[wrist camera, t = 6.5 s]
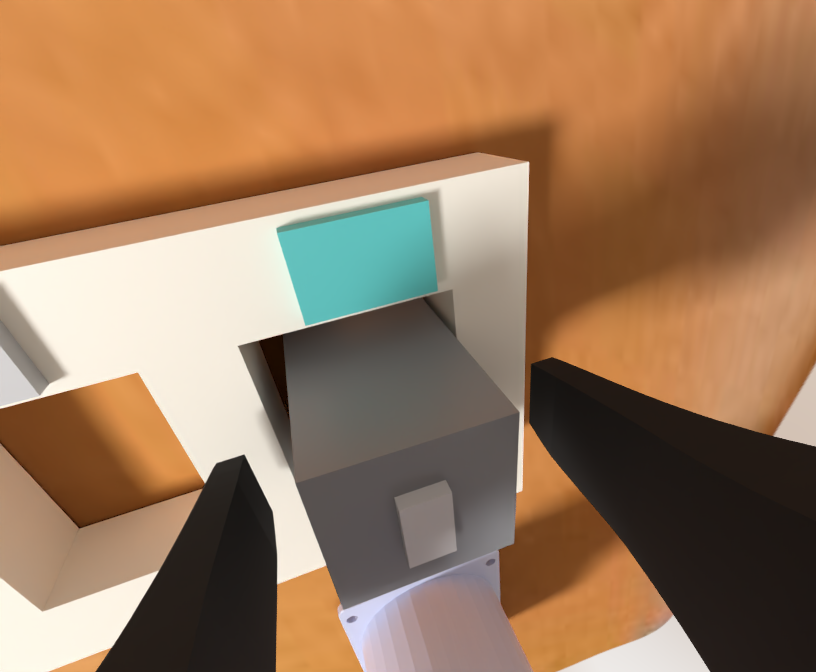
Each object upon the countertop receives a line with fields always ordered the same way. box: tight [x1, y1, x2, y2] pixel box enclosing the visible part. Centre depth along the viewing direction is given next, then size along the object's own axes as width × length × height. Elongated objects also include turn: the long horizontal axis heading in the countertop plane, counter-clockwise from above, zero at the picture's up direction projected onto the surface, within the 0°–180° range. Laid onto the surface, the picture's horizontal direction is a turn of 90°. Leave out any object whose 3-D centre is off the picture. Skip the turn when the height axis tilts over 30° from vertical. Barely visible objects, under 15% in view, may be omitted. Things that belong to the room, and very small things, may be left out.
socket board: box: [0, 152, 529, 672], centre depth 11 cm, size 11×16×3 cm
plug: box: [283, 297, 520, 610], centre depth 10 cm, size 4×4×6 cm
